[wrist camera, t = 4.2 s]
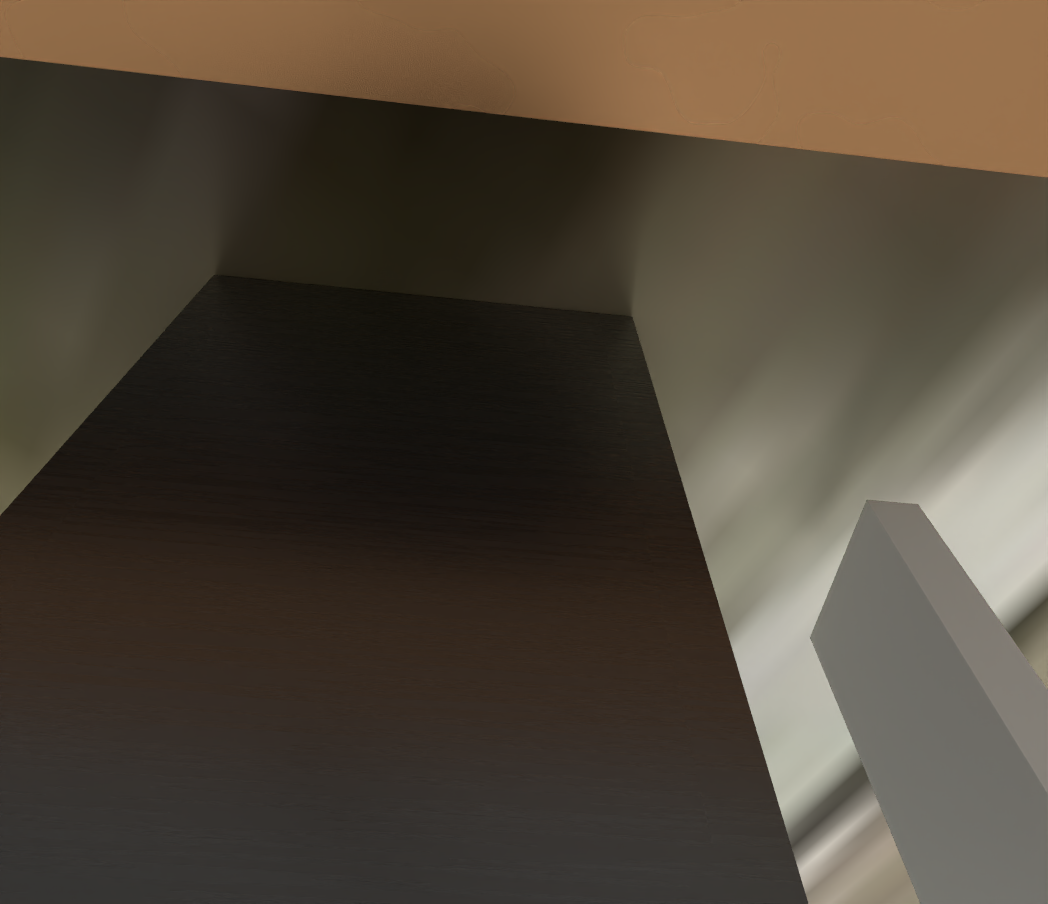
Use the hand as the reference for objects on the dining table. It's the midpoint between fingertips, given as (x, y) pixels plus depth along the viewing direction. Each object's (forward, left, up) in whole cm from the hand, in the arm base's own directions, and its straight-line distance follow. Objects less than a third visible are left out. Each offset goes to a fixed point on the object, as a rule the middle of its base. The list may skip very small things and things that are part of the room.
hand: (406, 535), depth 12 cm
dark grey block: (0, 0, -2) cm, 2 cm away
